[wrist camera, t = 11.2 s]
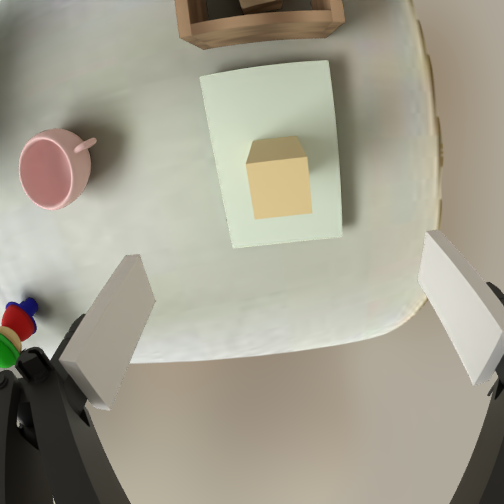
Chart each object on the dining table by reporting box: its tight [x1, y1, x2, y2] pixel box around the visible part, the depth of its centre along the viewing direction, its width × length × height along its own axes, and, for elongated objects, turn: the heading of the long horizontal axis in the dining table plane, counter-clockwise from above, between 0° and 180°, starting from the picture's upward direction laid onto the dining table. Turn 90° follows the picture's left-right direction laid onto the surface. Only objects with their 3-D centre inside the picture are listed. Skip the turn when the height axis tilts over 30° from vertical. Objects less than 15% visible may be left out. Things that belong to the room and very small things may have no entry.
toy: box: [0, 298, 38, 368], centre depth 43 cm, size 9×9×15 cm
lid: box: [199, 60, 342, 248], centre depth 29 cm, size 13×20×12 cm, turn 9°
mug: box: [19, 129, 97, 210], centre depth 32 cm, size 12×10×6 cm
